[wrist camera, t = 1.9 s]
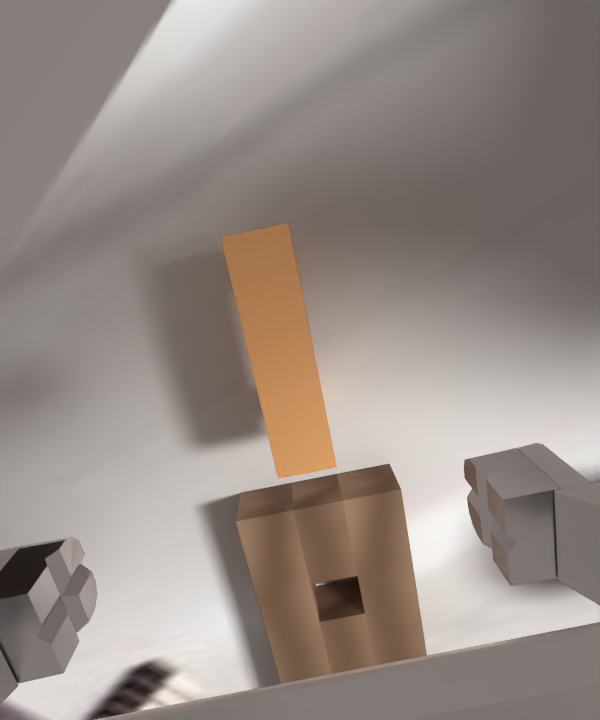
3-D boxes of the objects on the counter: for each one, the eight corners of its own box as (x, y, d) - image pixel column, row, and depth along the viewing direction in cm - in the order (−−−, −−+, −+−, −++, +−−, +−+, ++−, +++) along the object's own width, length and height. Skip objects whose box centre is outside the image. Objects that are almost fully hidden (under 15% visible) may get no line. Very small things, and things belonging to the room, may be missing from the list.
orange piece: (287, 224, 25) (288, 222, 19) (325, 419, 28) (336, 467, 23) (234, 235, 25) (220, 236, 19) (279, 428, 29) (278, 478, 23)
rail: (389, 464, 29) (400, 489, 27) (428, 708, 36) (441, 750, 33) (240, 493, 30) (235, 521, 27) (304, 731, 36) (306, 775, 33)
